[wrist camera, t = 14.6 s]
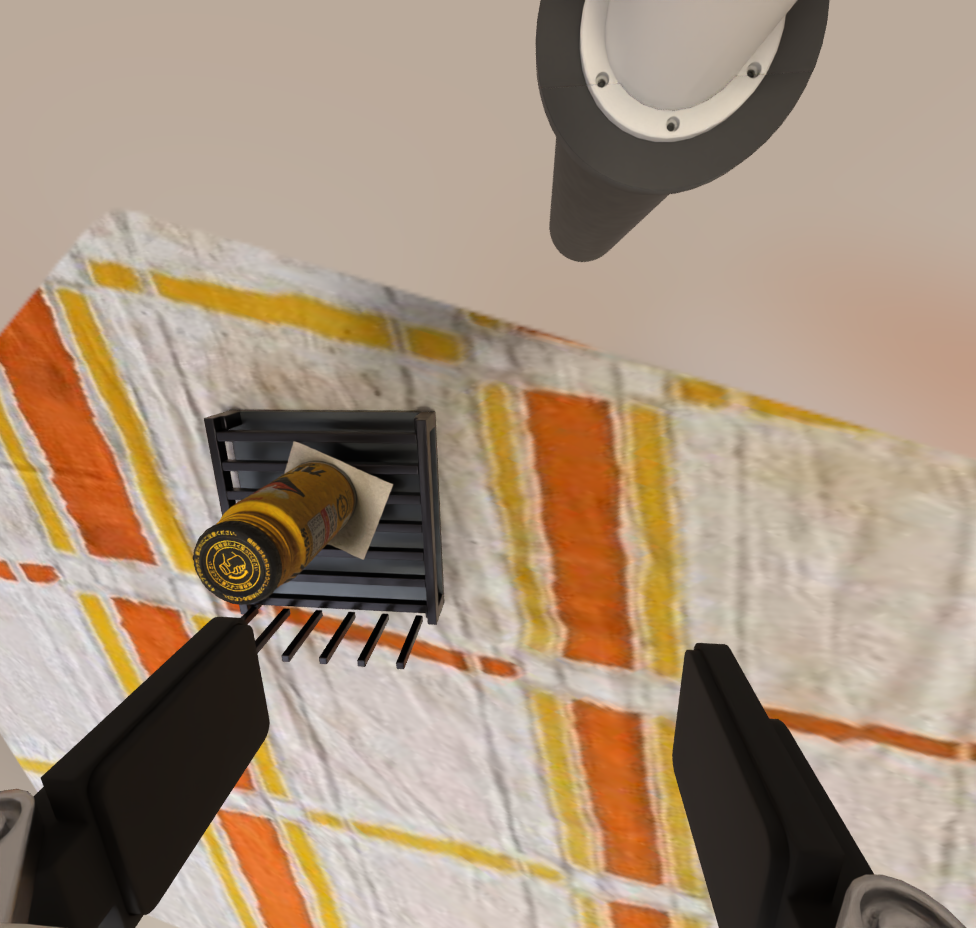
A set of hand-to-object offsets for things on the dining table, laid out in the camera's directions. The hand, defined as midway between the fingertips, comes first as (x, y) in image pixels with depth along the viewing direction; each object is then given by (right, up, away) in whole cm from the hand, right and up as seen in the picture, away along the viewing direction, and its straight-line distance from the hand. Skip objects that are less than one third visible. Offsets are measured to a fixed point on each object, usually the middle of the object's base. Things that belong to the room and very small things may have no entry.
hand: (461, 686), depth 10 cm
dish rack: (-13, +1, +33) cm, 35 cm away
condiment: (-12, +2, +29) cm, 32 cm away
